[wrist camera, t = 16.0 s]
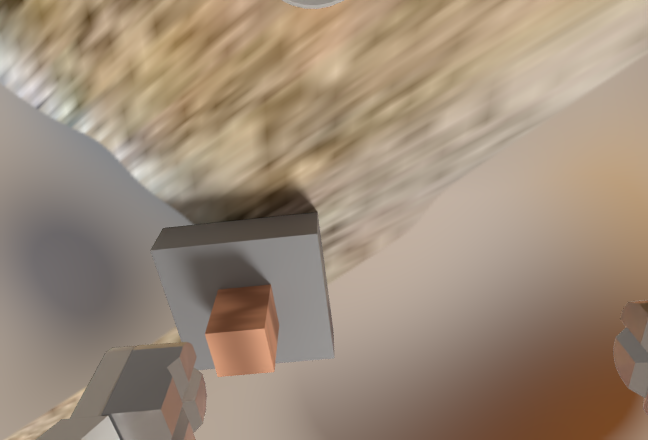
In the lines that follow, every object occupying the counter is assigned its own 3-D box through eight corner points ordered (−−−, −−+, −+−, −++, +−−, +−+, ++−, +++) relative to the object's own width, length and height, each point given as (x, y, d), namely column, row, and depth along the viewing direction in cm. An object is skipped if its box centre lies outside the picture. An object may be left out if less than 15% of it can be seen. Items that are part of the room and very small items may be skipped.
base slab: (317, 212, 45) (317, 233, 42) (333, 331, 52) (334, 358, 49) (163, 228, 46) (150, 250, 42) (199, 343, 53) (191, 370, 50)
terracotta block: (270, 284, 44) (264, 328, 39) (279, 325, 47) (274, 371, 42) (218, 289, 45) (204, 334, 39) (229, 329, 47) (218, 376, 42)
